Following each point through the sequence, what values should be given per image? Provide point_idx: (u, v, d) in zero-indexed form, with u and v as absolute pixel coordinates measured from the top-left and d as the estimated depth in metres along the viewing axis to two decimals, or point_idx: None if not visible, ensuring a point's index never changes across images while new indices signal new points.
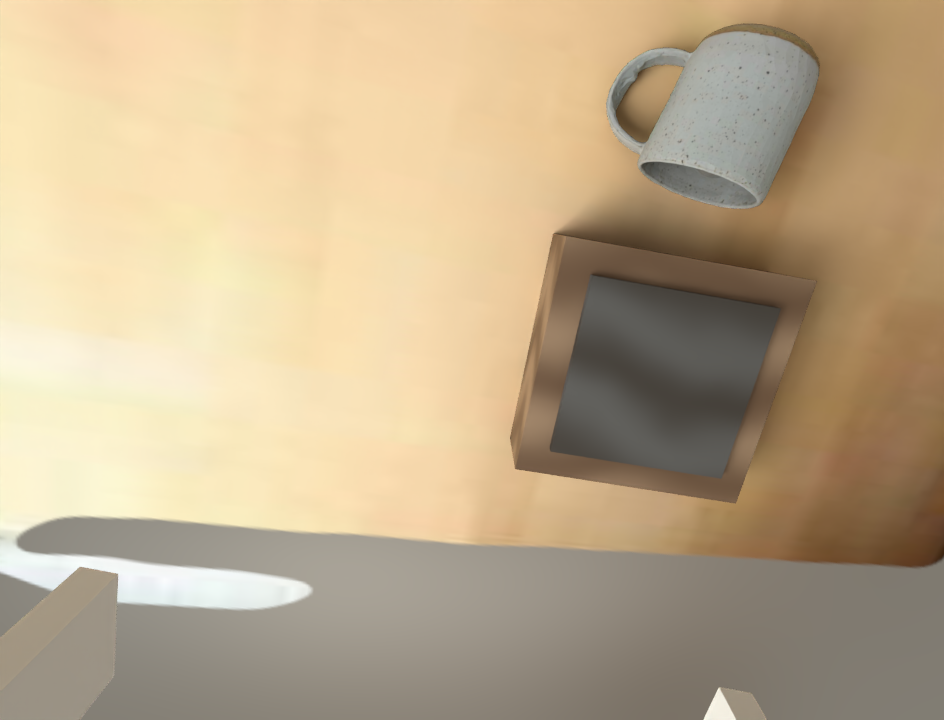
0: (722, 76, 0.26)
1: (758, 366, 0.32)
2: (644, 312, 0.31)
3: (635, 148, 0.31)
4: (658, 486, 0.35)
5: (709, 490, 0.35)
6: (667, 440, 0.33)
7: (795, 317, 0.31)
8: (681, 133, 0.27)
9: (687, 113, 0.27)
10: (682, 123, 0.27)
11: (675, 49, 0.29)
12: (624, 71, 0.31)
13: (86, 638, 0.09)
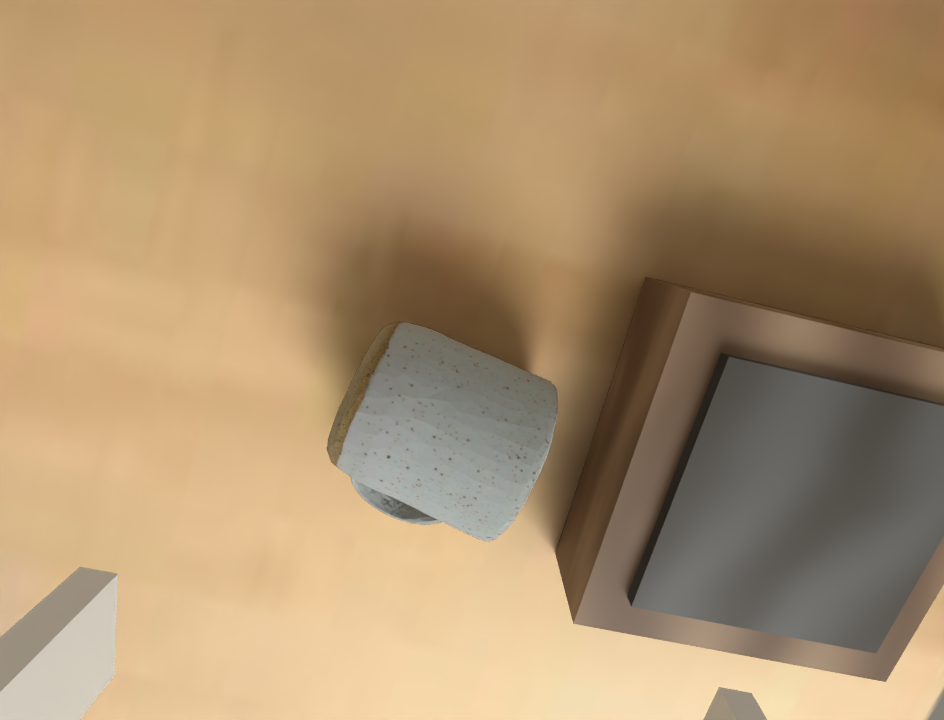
0: (390, 492, 0.20)
1: (819, 381, 0.19)
2: (695, 544, 0.21)
3: None
4: None
5: None
6: (909, 505, 0.21)
7: (745, 320, 0.19)
8: (457, 528, 0.20)
9: (432, 516, 0.21)
10: (445, 523, 0.21)
11: None
12: (375, 505, 0.25)
13: (86, 638, 0.09)
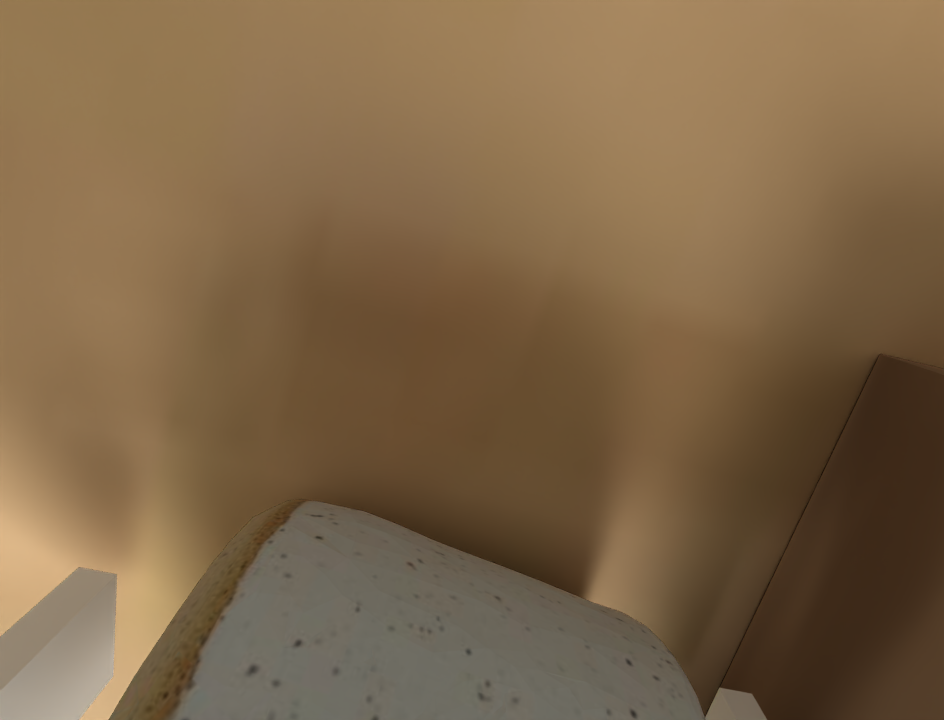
0: None
1: None
2: None
3: None
4: None
5: None
6: None
7: None
8: None
9: None
10: None
11: None
12: None
13: (85, 638, 0.09)
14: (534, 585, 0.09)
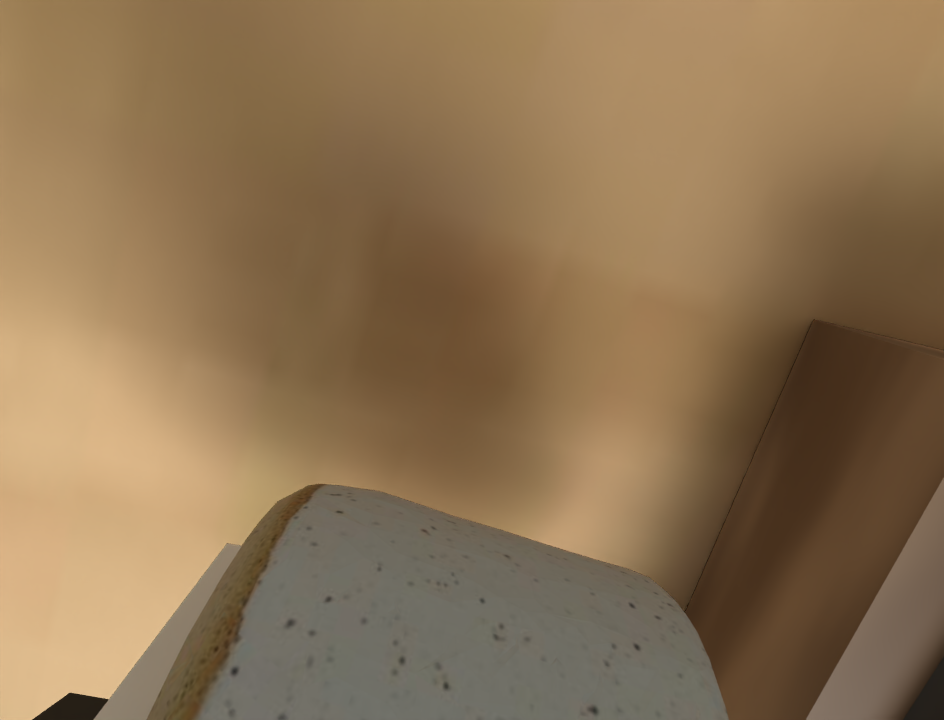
0: None
1: None
2: None
3: None
4: None
5: None
6: None
7: None
8: None
9: None
10: None
11: None
12: None
13: None
14: (541, 546, 0.10)
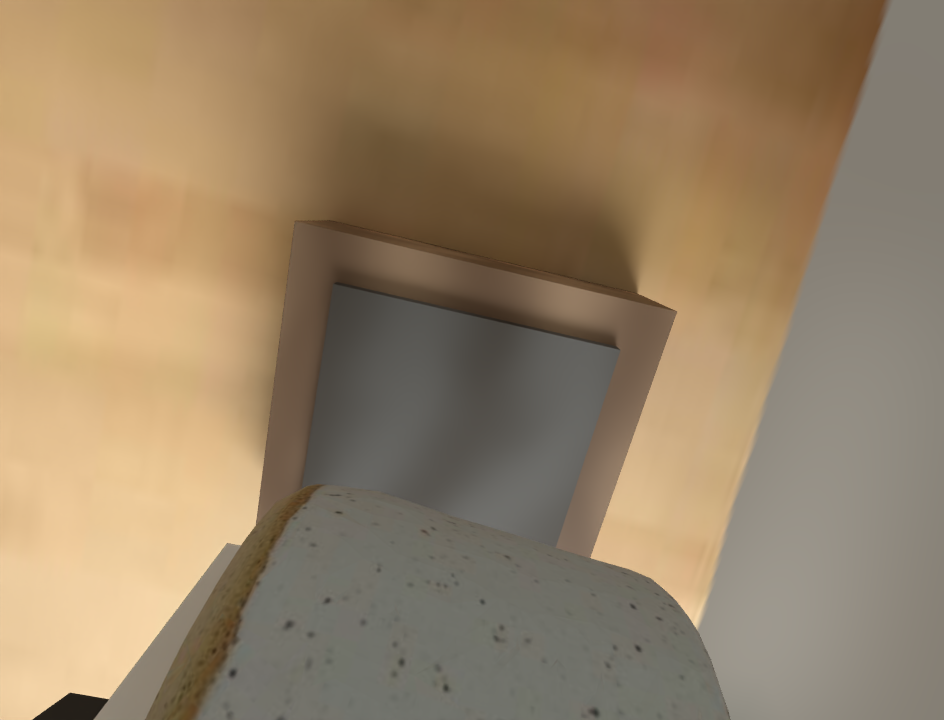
0: None
1: (426, 309, 0.20)
2: (342, 473, 0.22)
3: None
4: (625, 433, 0.22)
5: (644, 356, 0.21)
6: (542, 435, 0.21)
7: (354, 249, 0.20)
8: None
9: None
10: None
11: None
12: None
13: None
14: (542, 546, 0.10)
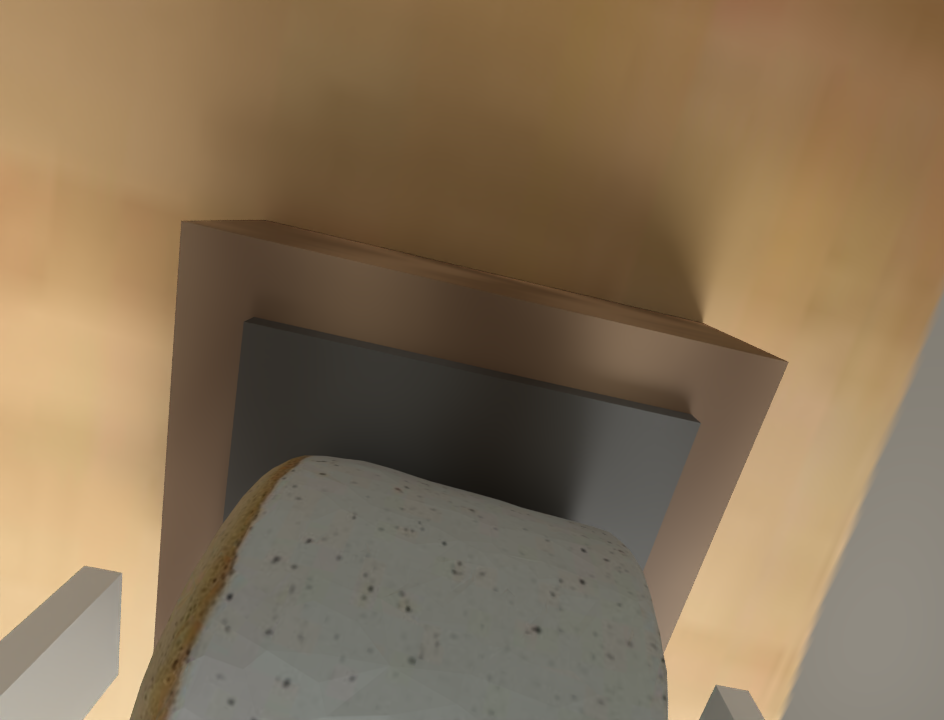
0: None
1: (394, 361, 0.12)
2: None
3: None
4: (698, 541, 0.15)
5: (734, 429, 0.14)
6: None
7: (278, 265, 0.12)
8: None
9: None
10: None
11: None
12: None
13: (90, 637, 0.09)
14: (508, 504, 0.11)
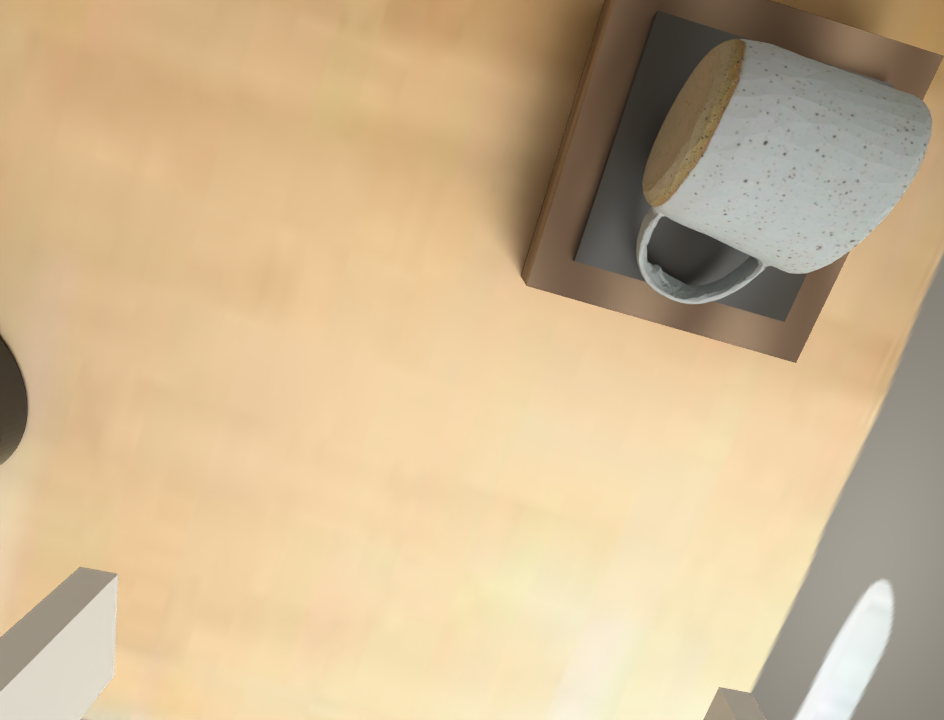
0: (747, 200, 0.19)
1: (733, 38, 0.23)
2: (629, 199, 0.25)
3: None
4: None
5: None
6: None
7: None
8: (806, 245, 0.20)
9: (776, 237, 0.20)
10: (790, 243, 0.20)
11: (647, 231, 0.23)
12: (656, 286, 0.25)
13: (86, 638, 0.09)
14: None
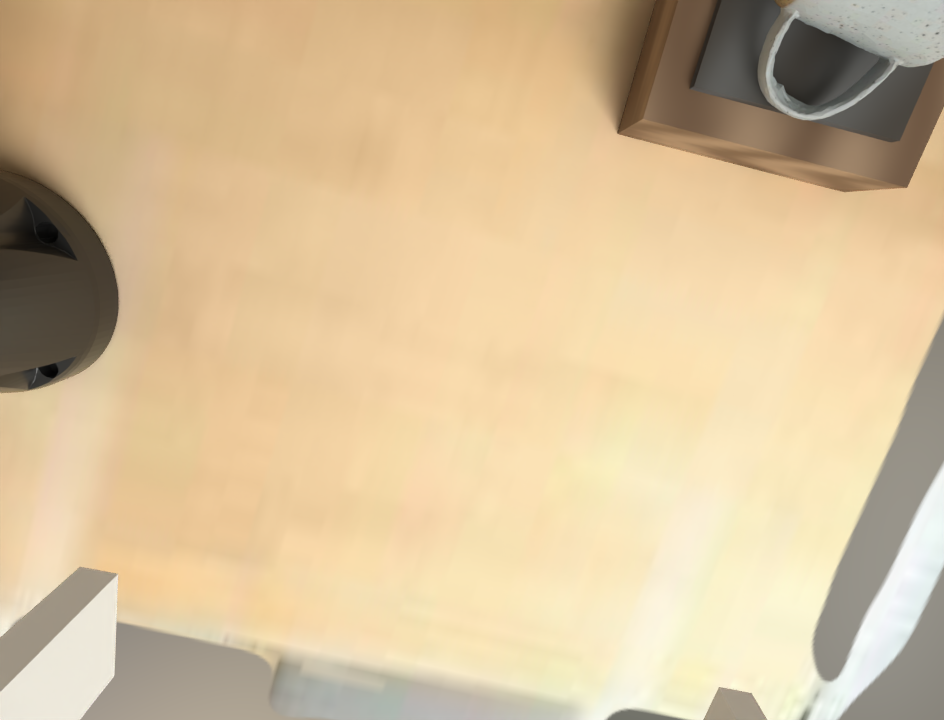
0: None
1: None
2: (749, 16, 0.25)
3: None
4: None
5: None
6: None
7: None
8: None
9: (929, 6, 0.20)
10: (943, 11, 0.20)
11: (778, 36, 0.24)
12: (780, 101, 0.25)
13: (86, 638, 0.09)
14: None
